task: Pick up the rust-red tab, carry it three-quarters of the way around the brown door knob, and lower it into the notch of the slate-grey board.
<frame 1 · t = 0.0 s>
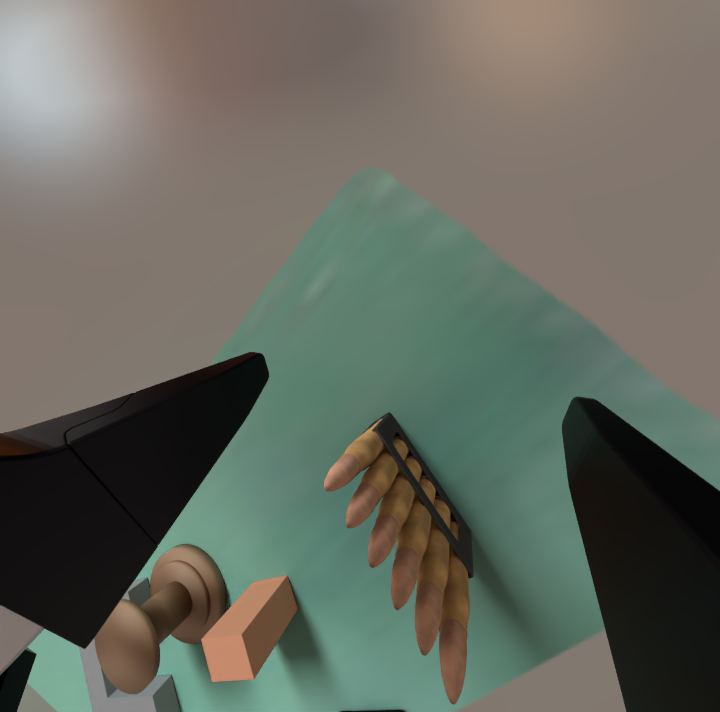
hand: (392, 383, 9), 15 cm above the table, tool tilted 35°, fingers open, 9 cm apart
tab: (275, 595, 27), on the table
ammunition clip: (419, 473, 23), on the table
brown door knob: (191, 588, 30), on the table
notched board: (132, 648, 32), on the table
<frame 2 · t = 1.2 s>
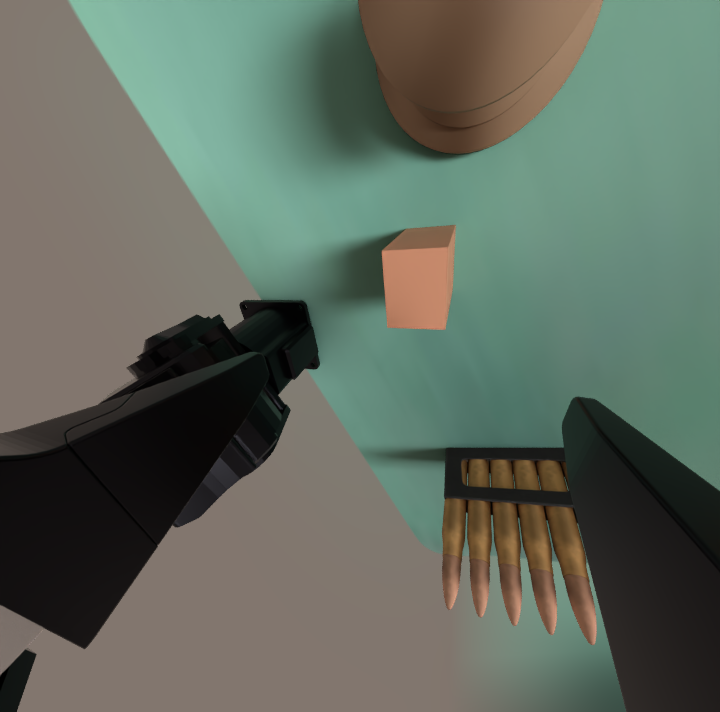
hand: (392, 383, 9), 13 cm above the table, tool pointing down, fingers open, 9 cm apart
tab: (429, 260, 19), on the table
ammunition clip: (510, 453, 25), on the table
brown door knob: (476, 31, 13), on the table
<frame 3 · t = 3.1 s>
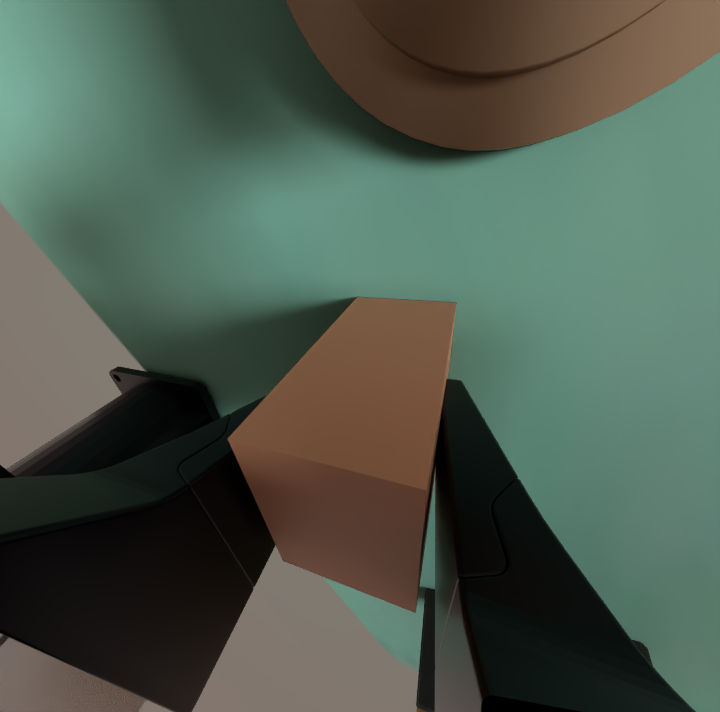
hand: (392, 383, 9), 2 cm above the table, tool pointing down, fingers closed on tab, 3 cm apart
tab: (403, 355, 10), on the table, touching gripper
ammunition clip: (520, 614, 17), on the table
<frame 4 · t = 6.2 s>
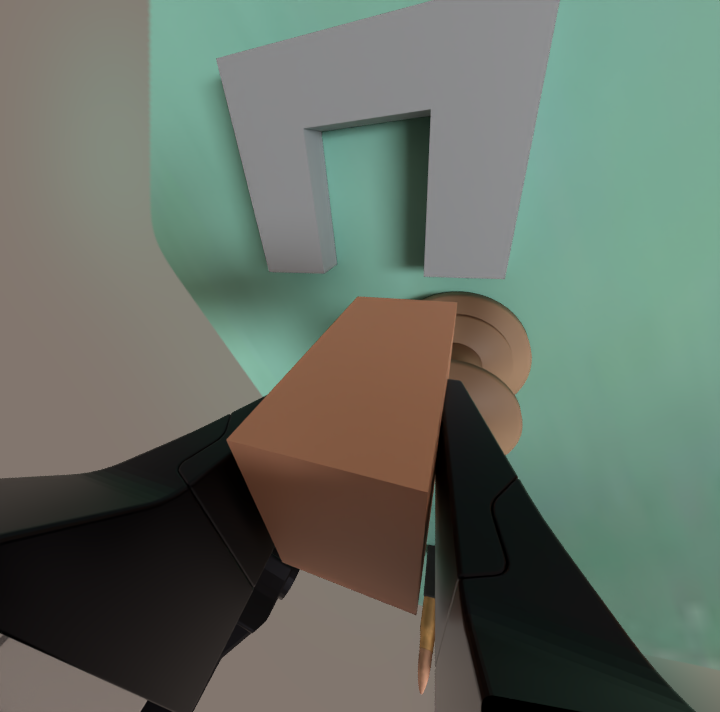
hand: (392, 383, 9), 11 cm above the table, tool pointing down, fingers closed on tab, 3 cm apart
tab: (404, 355, 10), point 10 cm above the table, touching gripper
ammunition clip: (476, 556, 33), on the table
brown door knob: (454, 354, 20), on the table
notched board: (377, 171, 15), on the table
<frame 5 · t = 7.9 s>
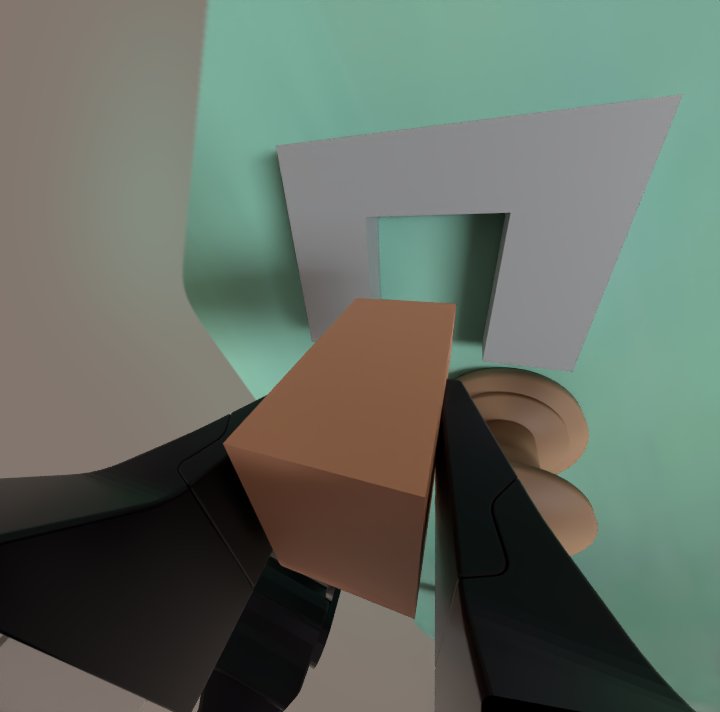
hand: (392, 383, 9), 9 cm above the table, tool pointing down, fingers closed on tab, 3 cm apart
tab: (403, 357, 10), point 8 cm above the table, touching gripper
brown door knob: (500, 423, 19), on the table
notched board: (434, 252, 15), on the table
when the fingers open (3 cm above the table, at t = 9.1 s): tab drops 2 cm, on the table.
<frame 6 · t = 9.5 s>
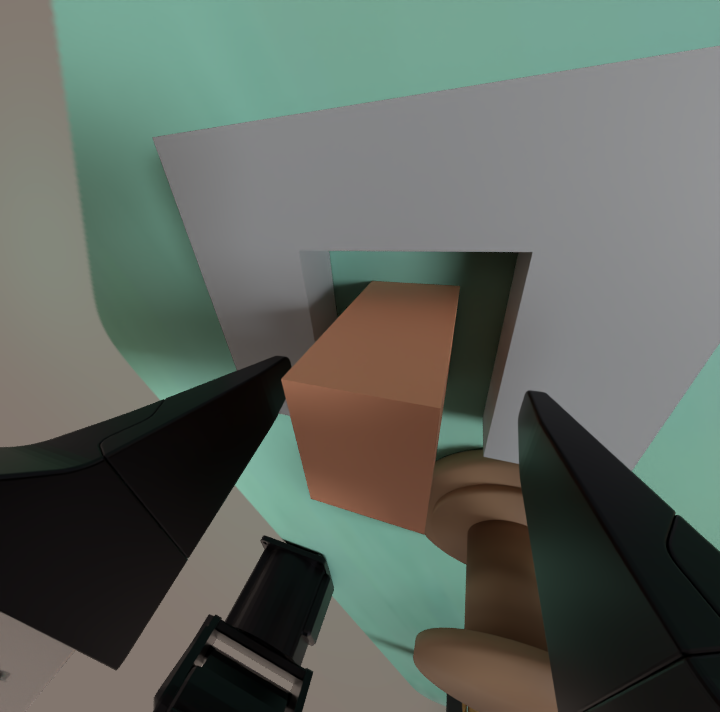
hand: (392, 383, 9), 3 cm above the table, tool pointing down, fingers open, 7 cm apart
tab: (411, 334, 11), on the table
brown door knob: (506, 512, 14), on the table
notched board: (412, 297, 10), on the table
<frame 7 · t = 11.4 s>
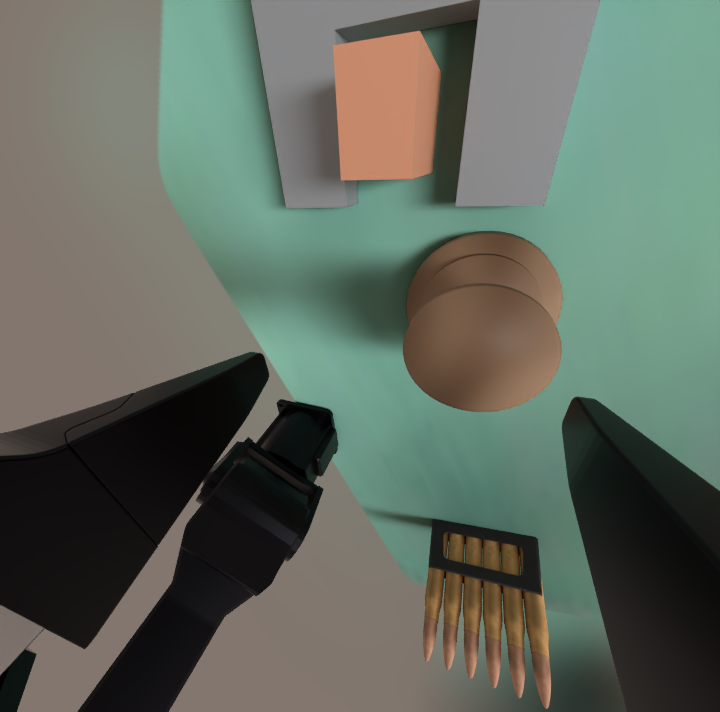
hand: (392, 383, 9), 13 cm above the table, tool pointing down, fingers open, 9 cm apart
tab: (407, 128, 15), on the table
ammunition clip: (482, 530, 33), on the table
brown door knob: (477, 304, 19), on the table
notched board: (409, 90, 14), on the table
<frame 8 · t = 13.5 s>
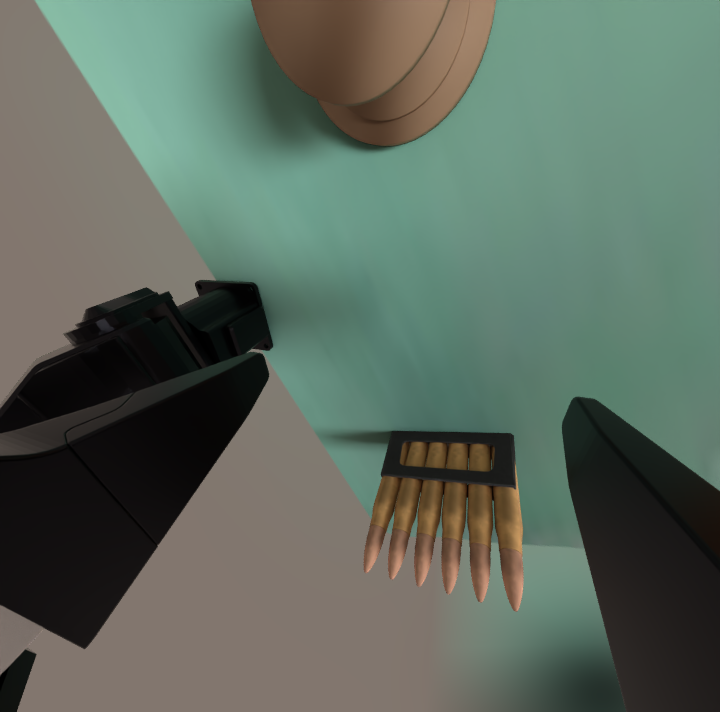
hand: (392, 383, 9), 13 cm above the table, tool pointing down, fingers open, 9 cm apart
ammunition clip: (449, 437, 27), on the table
brown door knob: (393, 30, 14), on the table
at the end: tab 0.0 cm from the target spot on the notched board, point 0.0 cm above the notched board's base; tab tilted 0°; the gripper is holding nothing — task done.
